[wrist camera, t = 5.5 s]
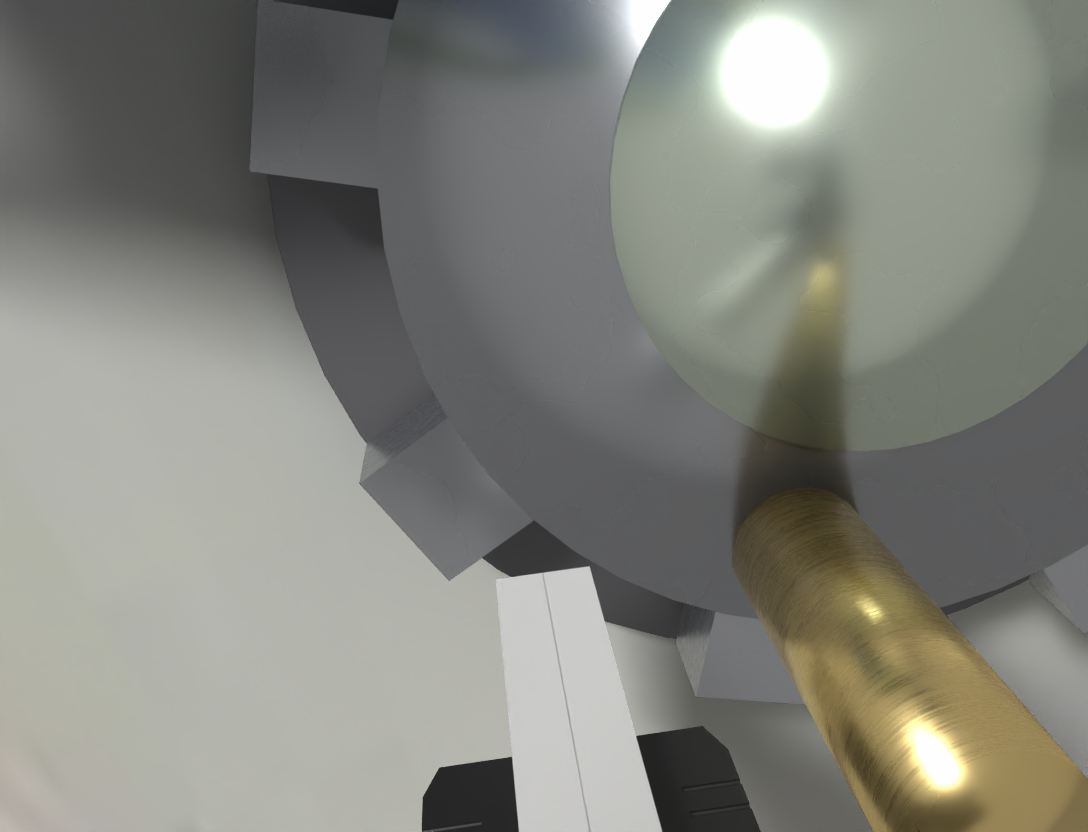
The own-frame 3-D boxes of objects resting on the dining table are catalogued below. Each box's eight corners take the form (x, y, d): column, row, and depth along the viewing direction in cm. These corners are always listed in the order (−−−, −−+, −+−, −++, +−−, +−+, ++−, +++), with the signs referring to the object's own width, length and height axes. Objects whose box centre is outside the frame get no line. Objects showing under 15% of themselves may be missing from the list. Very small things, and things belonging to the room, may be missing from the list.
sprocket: (245, 607, 20) (98, 1031, 11) (316, -705, 13) (93, -1996, 5) (1158, 678, 22) (1585, 1063, 14) (1593, -385, 16) (2888, -860, 7)
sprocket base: (246, 582, 21) (237, 607, 20) (313, -665, 14) (304, -713, 13) (1126, 653, 24) (1154, 678, 23) (1528, -367, 17) (1590, -390, 16)
